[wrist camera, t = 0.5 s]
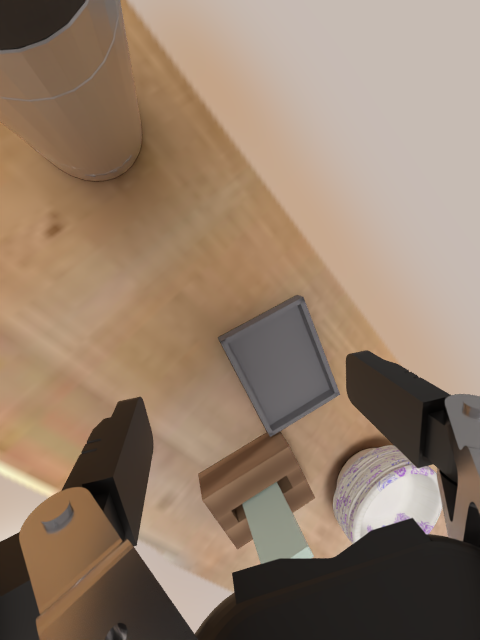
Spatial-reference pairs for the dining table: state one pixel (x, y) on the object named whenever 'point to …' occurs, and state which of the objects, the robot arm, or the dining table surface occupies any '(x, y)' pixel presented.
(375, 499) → the paper bowls
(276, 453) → the walnut slotted block
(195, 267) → the dining table surface
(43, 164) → the dining table surface
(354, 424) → the dining table surface
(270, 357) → the charcoal tray
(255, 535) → the pale green rectangular block
